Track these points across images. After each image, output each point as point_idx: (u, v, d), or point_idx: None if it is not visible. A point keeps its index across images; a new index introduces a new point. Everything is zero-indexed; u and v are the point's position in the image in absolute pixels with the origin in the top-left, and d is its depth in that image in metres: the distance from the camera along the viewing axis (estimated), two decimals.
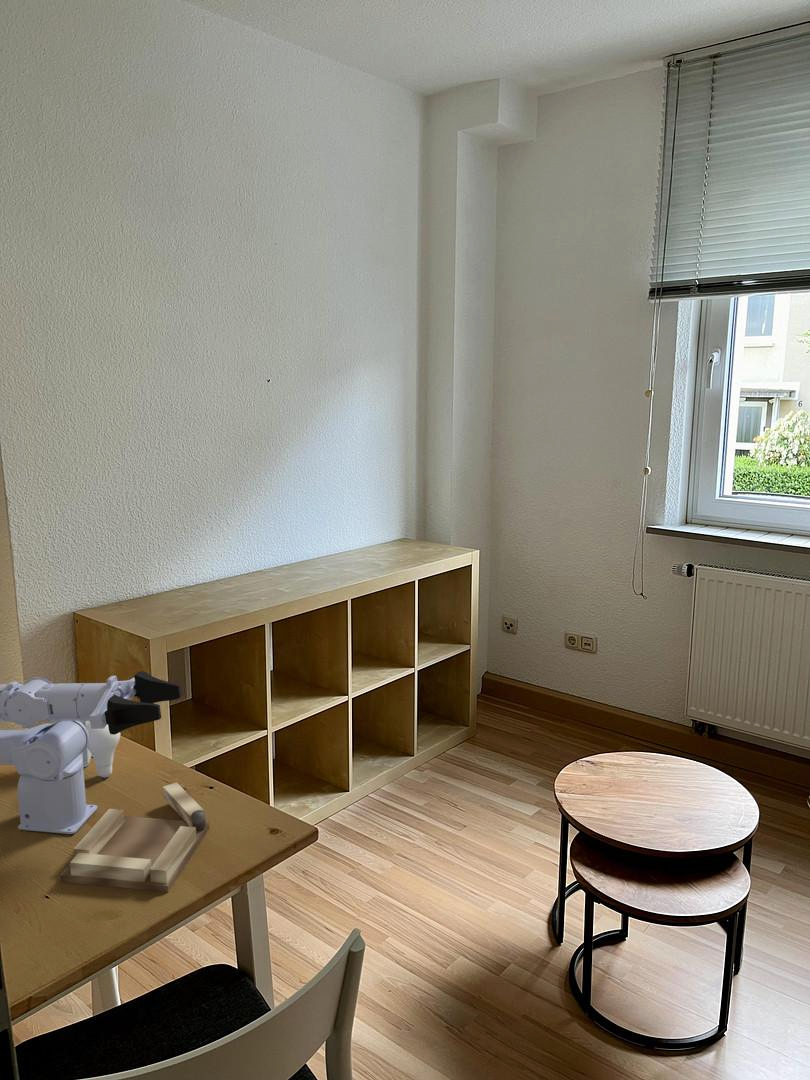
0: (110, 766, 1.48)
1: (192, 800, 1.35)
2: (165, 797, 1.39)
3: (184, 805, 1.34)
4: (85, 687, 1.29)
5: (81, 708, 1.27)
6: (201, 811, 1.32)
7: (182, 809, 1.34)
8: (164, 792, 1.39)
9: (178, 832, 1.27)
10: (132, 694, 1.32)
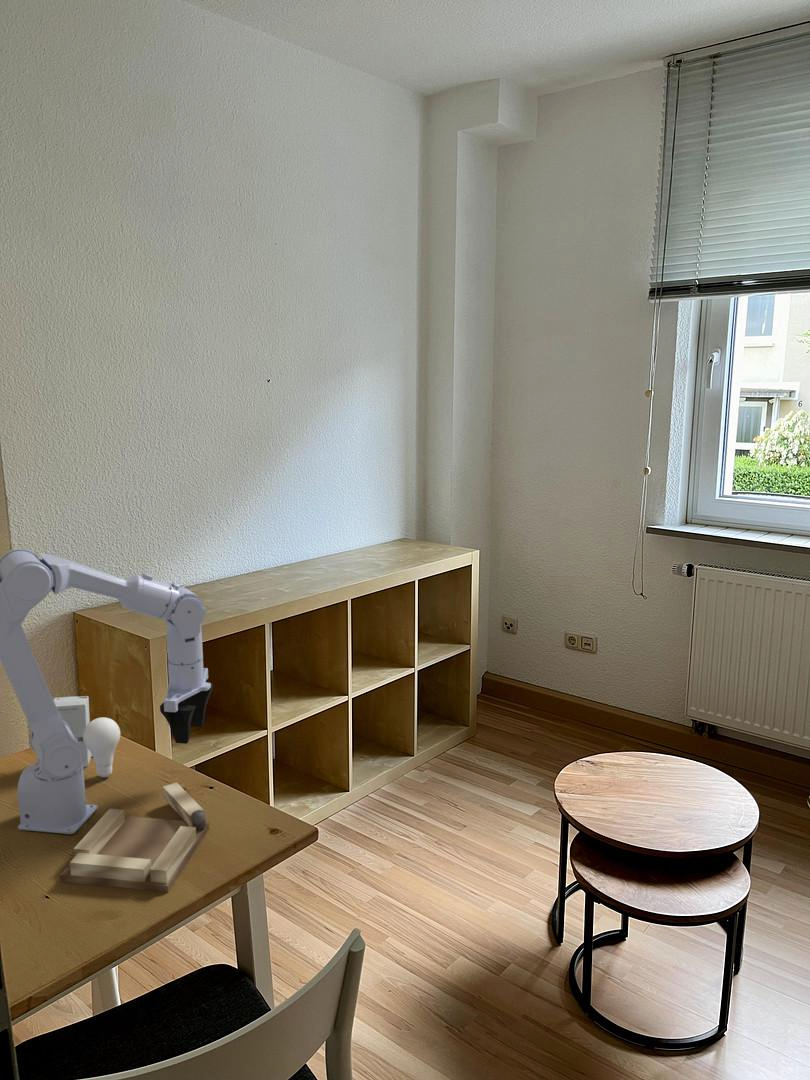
0: (110, 766, 1.48)
1: (192, 800, 1.35)
2: (165, 797, 1.39)
3: (184, 805, 1.34)
4: (199, 665, 1.41)
5: (180, 669, 1.39)
6: (201, 811, 1.32)
7: (182, 809, 1.34)
8: (164, 792, 1.39)
9: (178, 832, 1.27)
10: None
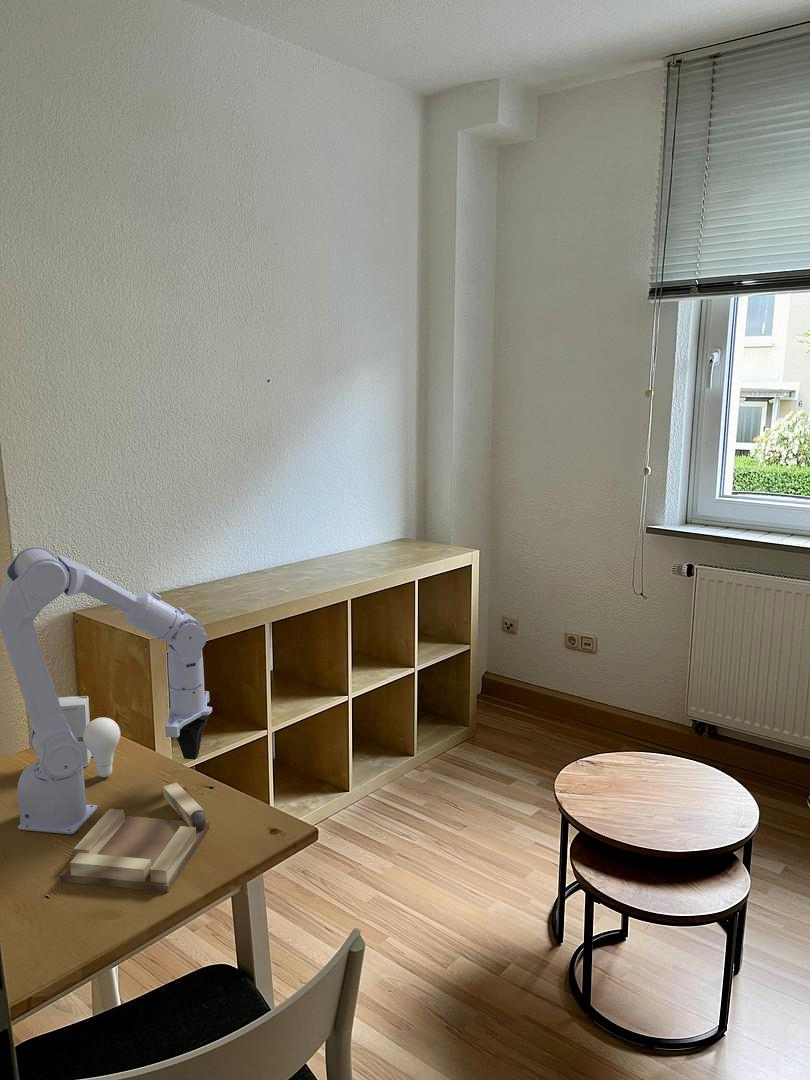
0: (110, 766, 1.48)
1: (192, 800, 1.35)
2: (165, 797, 1.39)
3: (184, 805, 1.34)
4: (200, 690, 1.42)
5: (181, 694, 1.40)
6: (201, 811, 1.32)
7: (182, 809, 1.34)
8: (164, 792, 1.39)
9: (178, 832, 1.27)
10: None
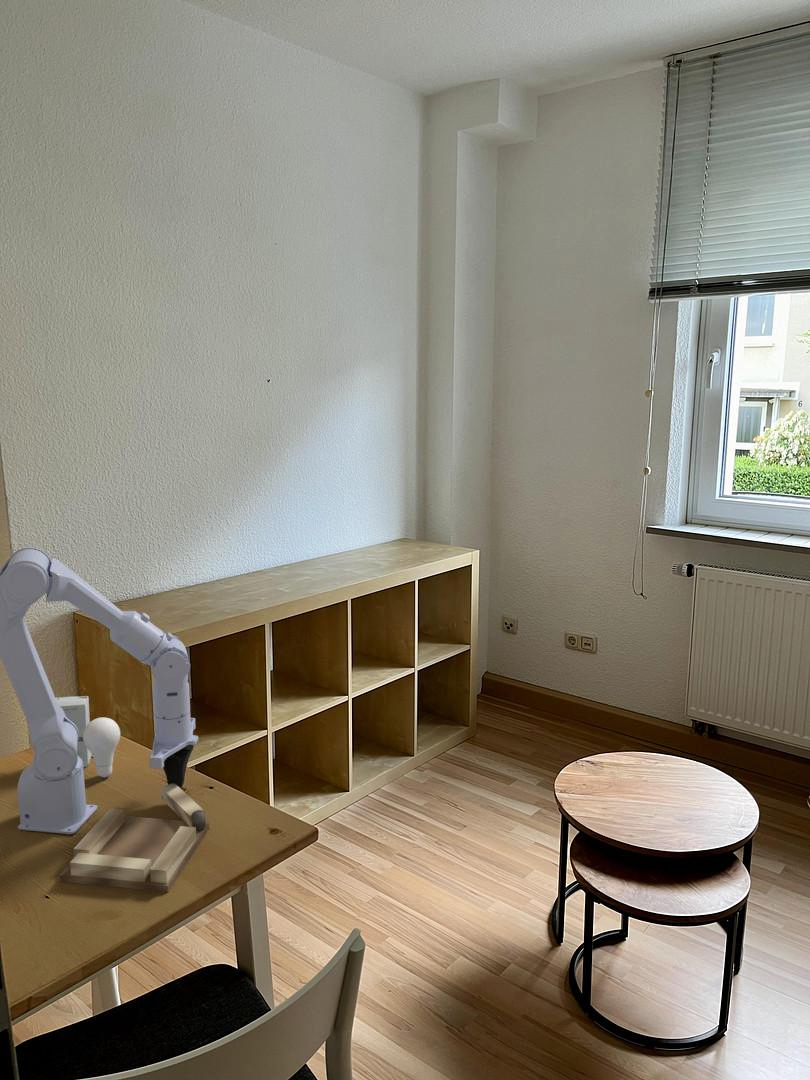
0: (110, 766, 1.48)
1: (191, 800, 1.35)
2: (163, 798, 1.39)
3: (183, 805, 1.34)
4: (186, 719, 1.37)
5: (166, 723, 1.35)
6: (201, 811, 1.32)
7: (181, 809, 1.34)
8: (162, 792, 1.39)
9: (178, 832, 1.27)
10: None
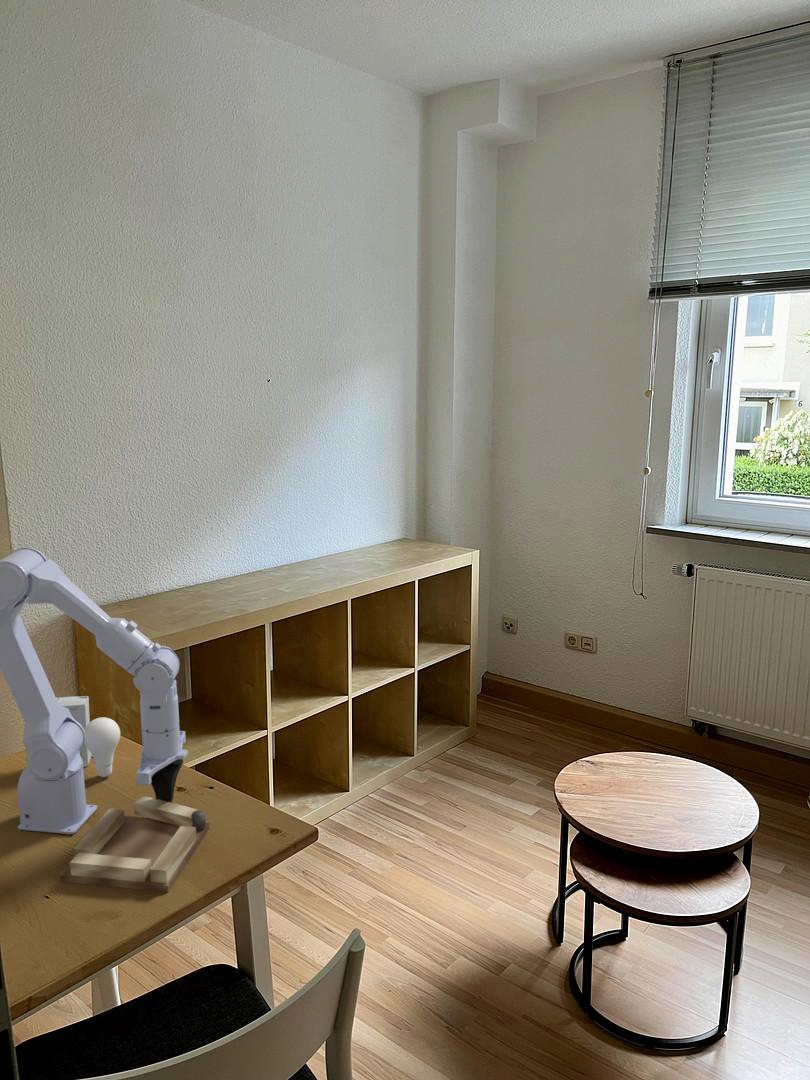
0: (110, 766, 1.48)
1: (178, 805, 1.34)
2: (138, 813, 1.35)
3: (175, 811, 1.32)
4: (175, 732, 1.32)
5: (154, 737, 1.30)
6: (199, 811, 1.32)
7: (174, 816, 1.32)
8: (136, 808, 1.35)
9: (178, 832, 1.27)
10: None
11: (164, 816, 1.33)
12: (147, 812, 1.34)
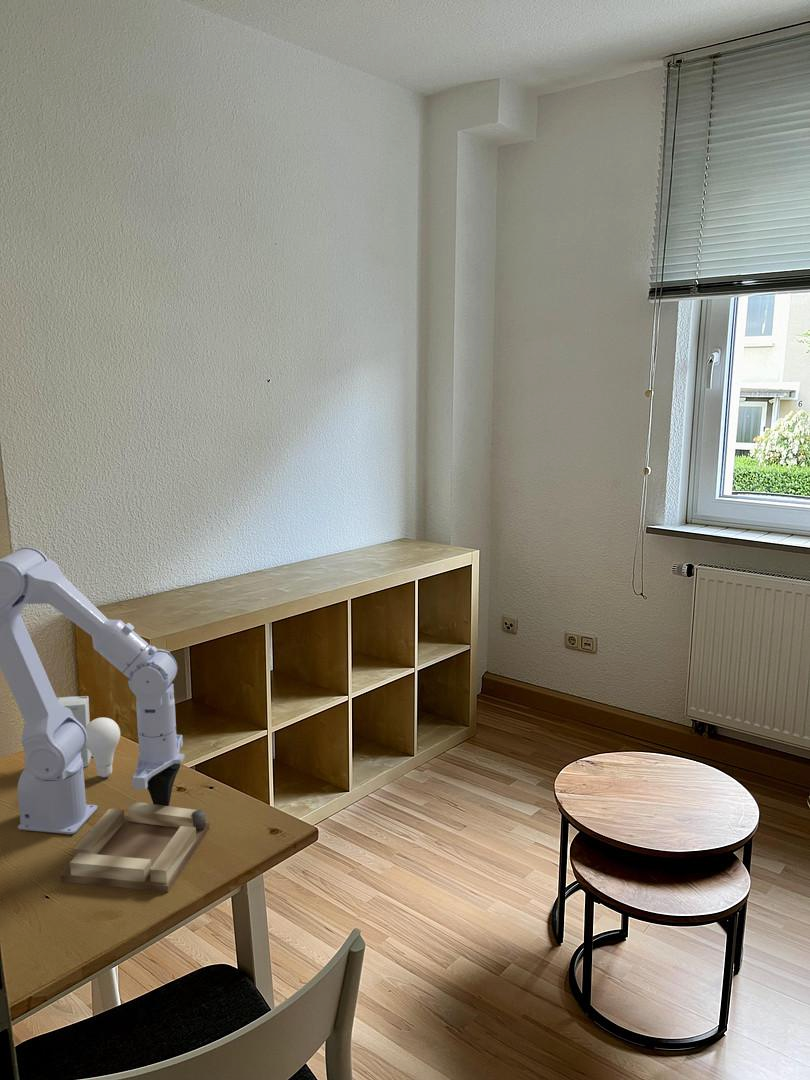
0: (110, 766, 1.48)
1: (174, 808, 1.33)
2: (132, 819, 1.33)
3: (173, 813, 1.32)
4: (171, 736, 1.31)
5: (150, 741, 1.29)
6: (198, 811, 1.32)
7: (173, 818, 1.31)
8: (130, 814, 1.33)
9: (178, 832, 1.27)
10: None
11: (162, 820, 1.32)
12: (142, 817, 1.32)
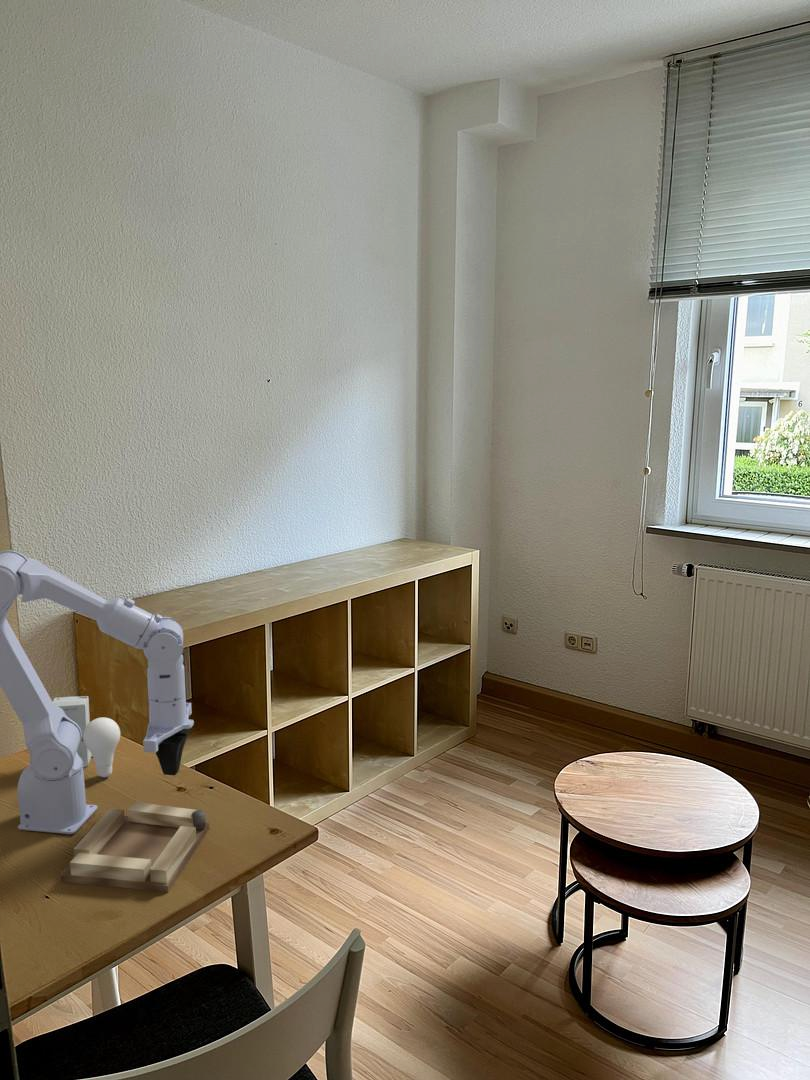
0: (110, 766, 1.48)
1: (174, 808, 1.33)
2: (132, 819, 1.33)
3: (173, 813, 1.32)
4: (181, 702, 1.34)
5: (161, 706, 1.32)
6: (198, 811, 1.32)
7: (173, 818, 1.31)
8: (130, 814, 1.33)
9: (178, 832, 1.27)
10: None
11: (162, 820, 1.32)
12: (142, 817, 1.32)
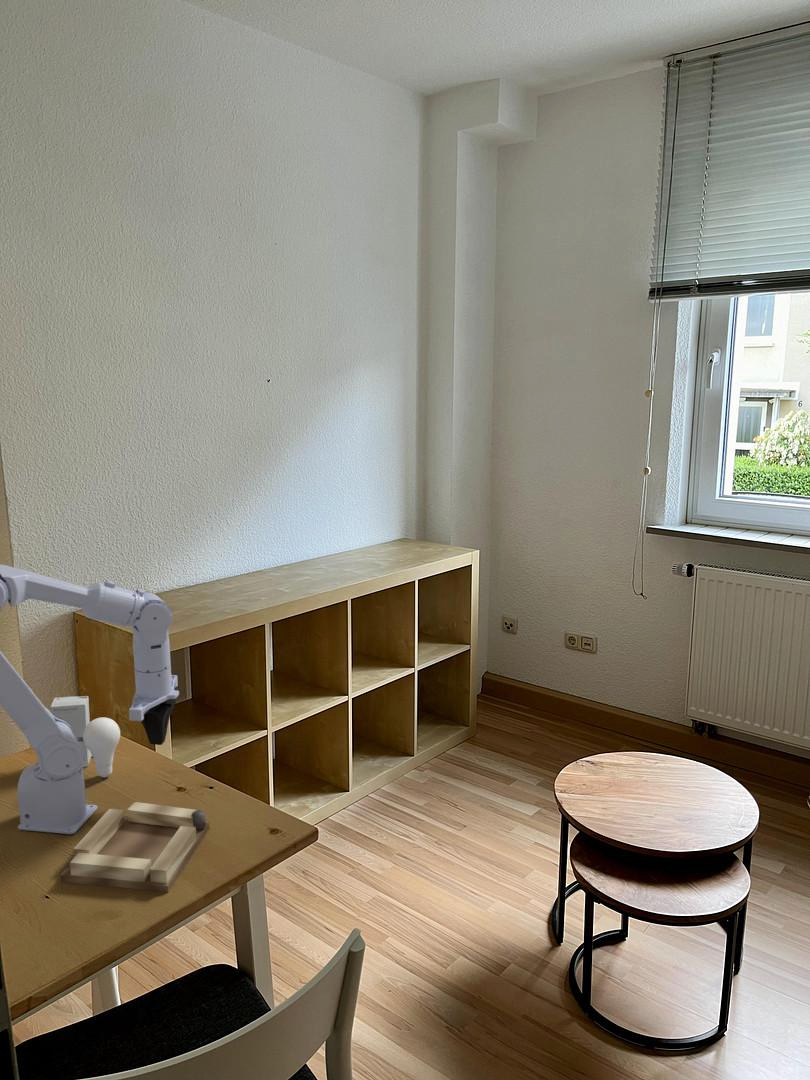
0: (110, 766, 1.48)
1: (174, 808, 1.33)
2: (132, 819, 1.33)
3: (173, 813, 1.32)
4: (166, 673, 1.38)
5: (146, 677, 1.36)
6: (198, 811, 1.32)
7: (173, 818, 1.31)
8: (130, 814, 1.33)
9: (178, 832, 1.27)
10: None
11: (162, 820, 1.32)
12: (142, 817, 1.32)
